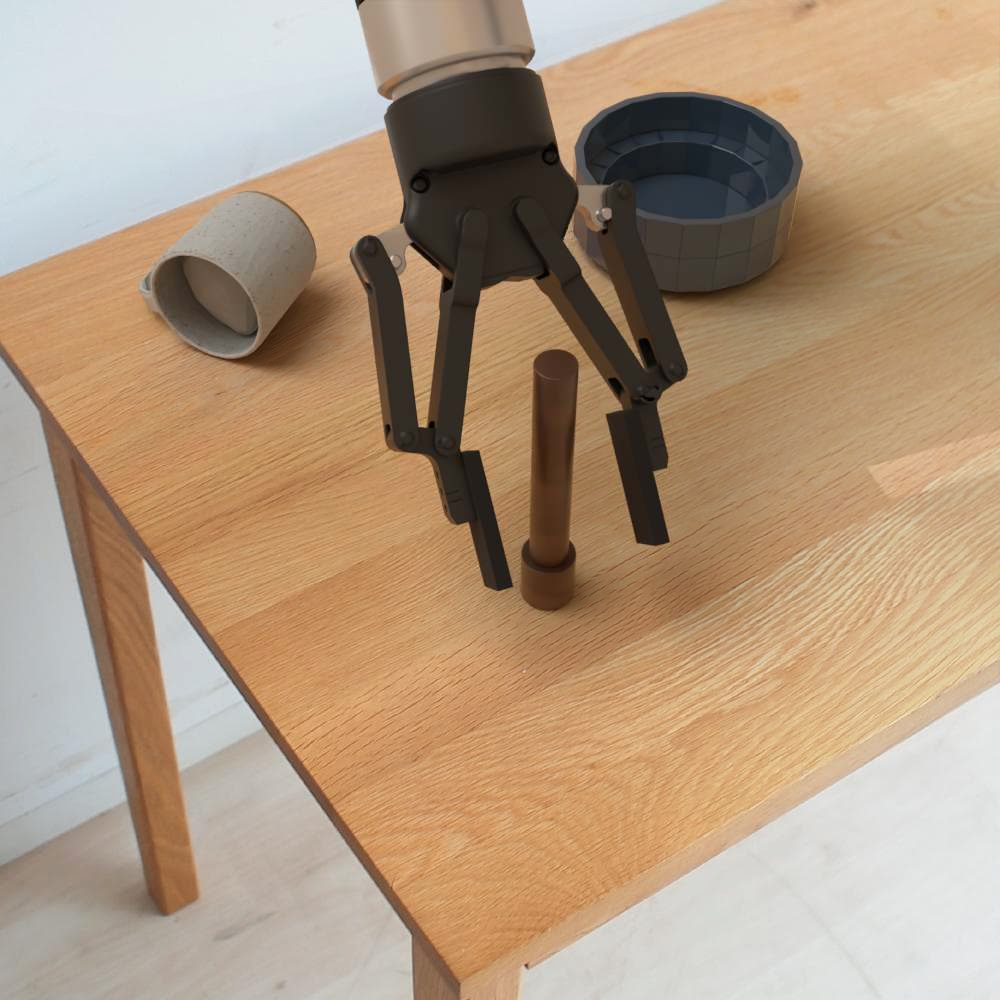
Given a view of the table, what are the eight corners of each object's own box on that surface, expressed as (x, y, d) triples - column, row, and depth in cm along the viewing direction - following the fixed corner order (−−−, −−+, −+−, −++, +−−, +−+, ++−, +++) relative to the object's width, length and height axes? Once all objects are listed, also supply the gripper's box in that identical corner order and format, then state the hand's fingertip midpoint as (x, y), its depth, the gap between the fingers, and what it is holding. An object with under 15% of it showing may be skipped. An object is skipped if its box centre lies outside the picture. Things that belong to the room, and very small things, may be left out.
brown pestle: (562, 562, 77) (573, 336, 65) (582, 602, 75) (597, 377, 63) (512, 576, 76) (515, 351, 64) (531, 617, 74) (537, 392, 62)
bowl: (729, 150, 101) (739, 74, 97) (826, 272, 92) (843, 195, 88) (540, 192, 98) (542, 115, 94) (622, 322, 89) (628, 245, 85)
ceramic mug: (331, 290, 91) (317, 189, 85) (270, 373, 86) (251, 272, 80) (184, 254, 94) (161, 153, 88) (117, 332, 89) (88, 231, 83)
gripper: (633, 66, 73) (736, 507, 74) (240, 146, 68) (361, 613, 70) (687, 23, 65) (800, 512, 67) (252, 109, 61) (387, 631, 63)
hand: (576, 563), depth 69 cm, fingers open, 7 cm apart
